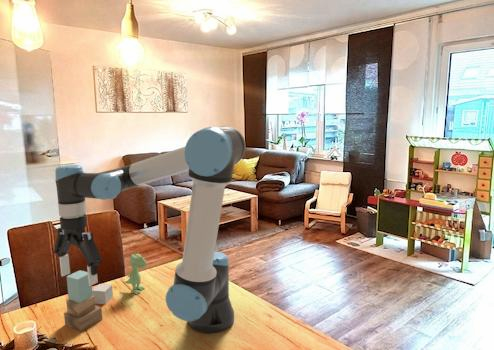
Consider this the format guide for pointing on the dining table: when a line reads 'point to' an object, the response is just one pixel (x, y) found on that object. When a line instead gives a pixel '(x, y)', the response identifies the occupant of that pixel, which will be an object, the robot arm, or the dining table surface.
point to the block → (102, 293)
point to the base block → (83, 319)
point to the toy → (136, 272)
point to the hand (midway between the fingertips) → (79, 279)
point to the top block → (81, 307)
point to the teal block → (79, 286)
